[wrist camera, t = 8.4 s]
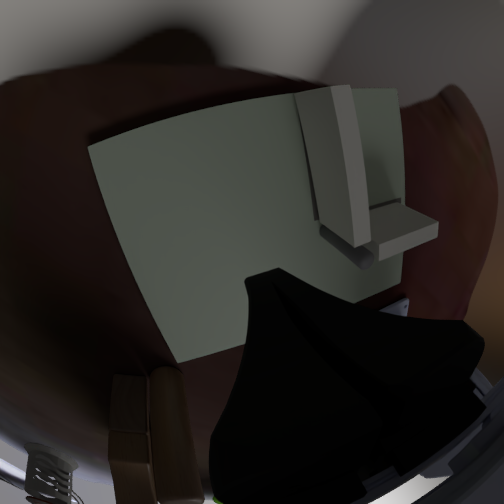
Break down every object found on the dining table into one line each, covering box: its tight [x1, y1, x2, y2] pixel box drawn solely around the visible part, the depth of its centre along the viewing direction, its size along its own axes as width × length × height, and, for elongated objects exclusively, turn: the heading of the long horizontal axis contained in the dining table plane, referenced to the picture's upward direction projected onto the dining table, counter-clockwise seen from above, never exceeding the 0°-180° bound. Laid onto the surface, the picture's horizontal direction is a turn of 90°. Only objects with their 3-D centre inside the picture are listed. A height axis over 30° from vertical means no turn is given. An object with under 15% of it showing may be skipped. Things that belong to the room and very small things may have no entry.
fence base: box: [319, 202, 439, 270], centre depth 19 cm, size 1×8×5 cm, turn 102°
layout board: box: [88, 88, 405, 363], centre depth 20 cm, size 18×22×1 cm
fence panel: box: [294, 84, 371, 248], centre depth 16 cm, size 9×1×4 cm, turn 15°
